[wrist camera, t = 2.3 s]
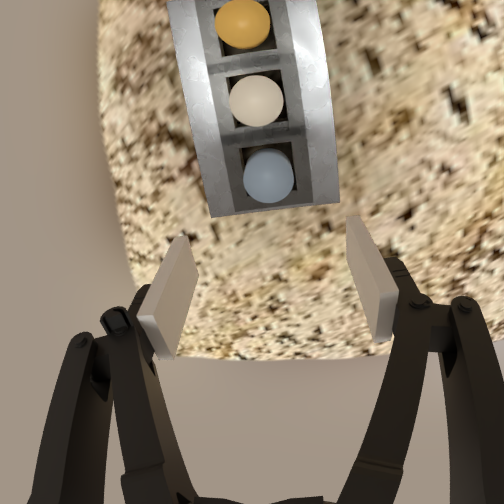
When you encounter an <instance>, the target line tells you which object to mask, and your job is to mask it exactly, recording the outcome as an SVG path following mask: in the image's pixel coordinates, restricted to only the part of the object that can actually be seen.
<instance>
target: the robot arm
mask: <svg viewBox="0 0 504 504" xmlns="http://www.w3.org/2000/svg"><path fill="white" fill-rule="evenodd" d="M346 255H347V262H348V265H349V268H350V271H351V273H352V276H353V279H354V282H355V285H356V288H357V291H358V294H359V297H360V300H361V303H362V306H363V309H364V312H365V315H366V318H367V322H368V325H369V328H370V331H371V335H372V338H373V341H374V343H379V342H385V341H391V337H392V332H393V334H394V341H393V345H392V349H391V353H390V357H389V361H388V365H387V368H386V372H385V376H384V379H383V383H382V386H381V389H380V393H379V396H378V399H377V402H376V405H375V408H374V412H373V414H372V417H371V420H370V423H369V426H368V429H367V432H366V435H365V438H364V440H363V443H362V445H361V448H360V451H359V453H358V456H357V458H356V460H355V462H354V464H353V467H352V469H351V471H350V474H349V476H348V479H347V481H346V483H345V485H344V487H343V490H342V492H341V494H340V496H339V498H338V501H337V503H332V502H327V501H323V496H318V497H317V496H316V497H305V498H291V499H287V500H284V501H279V502H276V503H272V504H393V502H394V500H395V497H396V494H397V491H398V488H399V485H400V482H401V479H402V475H403V464H404V461H405V457H406V454H407V450H408V447H409V443H410V439H411V436H412V432H413V428H414V423H415V419H416V415H417V411H418V406H419V401H420V397H421V392H422V386H423V381H424V375H425V369H426V363H427V356H428V352H438V356H439V362H440V369H441V375H442V382H443V389H444V397H445V405H446V415H447V426H448V439H449V458H450V504H504V381H503V377H502V373H501V370H500V366H499V363H498V359H497V356H496V353H495V350H494V347H493V343H492V340H491V337H490V334H489V331H488V328H487V325H486V323H485V320H484V317H483V314H482V312H481V309H480V306H479V305H478V303H477V302H476V301H475V300H474V299H472V298H470V297H467V296H458V297H456V298H454V299H453V300H452V302H451V305H441V304H434V303H433V301H432V300H431V299H430V297H428V296H427V295H425V294H422V293H420V291H419V289H418V288H417V286H416V284H415V282H414V280H413V279H412V277H411V276H410V273H409V272H408V270H407V268H406V266H405V265H404V263H403V262H402V261H401V260H399V259H398V258H397V257H390V258H382V256H381V254H380V252H379V250H378V248H377V246H376V244H375V243H374V241H373V239H372V237H371V235H370V233H369V232H368V230H367V228H366V226H365V224H364V223H363V221H362V219H361V217H360V216H359V215H356V216H346ZM198 277H199V274H198V270H197V267H196V264H195V260H194V257H193V253H192V250H191V246H190V243H189V240H188V236H180V237H175V238H174V240H173V242H172V244H171V246H170V247H169V249H168V251H167V253H166V255H165V257H164V259H163V261H162V263H161V265H160V267H159V269H158V271H157V273H156V276H155V278H154V280H153V282H152V284H145V285H143V286H142V287H141V288H140V289H139V290H138V291H137V293H136V295H135V297H134V299H133V301H132V303H131V304H132V305H130V307H129V309H128V311H127V310H126V308H124V307H119V306H117V307H113V308H111V309H109V310H107V311H106V312H105V313H103V315H102V316H101V318H100V322H101V324H102V326H103V328H104V330H105V331H106V333H107V335H106V336H103V337H99V338H95V339H94V337H93V336H92V334H91V333H89V332H82V333H79V334H77V335H75V336H74V337H73V338H72V339H71V341H70V343H69V345H68V348H67V351H66V354H65V357H64V360H63V363H62V366H61V370H60V373H59V376H58V379H57V382H56V386H55V390H54V393H53V397H52V400H51V403H50V407H49V411H48V415H47V419H46V423H45V427H44V431H43V436H42V440H41V445H40V449H39V454H38V459H37V464H36V469H35V475H34V481H33V487H32V494H31V496H30V498H29V500H28V503H27V504H104V485H105V471H106V459H107V448H108V438H109V429H110V421H111V413H112V406H113V400H114V407H115V414H116V421H117V427H118V434H119V439H120V445H121V450H122V456H123V460H124V466H125V474H123V475H122V476H121V486H122V491H123V495H124V499H125V503H126V504H242V503H239V502H235V501H231V500H227V499H221V498H206V497H199V496H198V495H197V493H196V491H195V490H194V488H193V486H192V483H191V481H190V478H189V475H188V473H187V470H186V467H185V464H184V461H183V458H182V455H181V452H180V449H179V446H178V443H177V440H176V437H175V434H174V431H173V428H172V424H171V421H170V418H169V414H168V411H167V408H166V404H165V400H164V397H163V393H162V389H161V386H160V382H159V378H158V374H157V371H156V366H155V364H154V362H153V360H152V357H153V354H154V352H155V354H156V355H157V357H158V359H159V360H174V358H175V355H176V351H177V348H178V344H179V341H180V337H181V334H182V330H183V327H184V323H185V320H186V317H187V313H188V310H189V307H190V303H191V300H192V297H193V293H194V290H195V287H196V284H197V280H198Z"/></svg>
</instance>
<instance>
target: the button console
mask: <svg viewBox="0 0 504 504" xmlns="http://www.w3.org/2000/svg"><path fill="white" fill-rule="evenodd" d="M230 1H232V0H172V1H168V2H166V3H167V8H168V14H169V20H170V25H171V30H172V36H173V41H174V46H175V52H176V57H177V62H178V67H179V72H180V77H181V82H182V87H183V92H184V97H185V102H186V107H187V112H188V116H189V121H190V126H191V130H192V135H193V140H194V144H195V149H196V153H197V158H198V163H199V167H200V171H201V176H202V180H203V185H204V189H205V193H206V198H207V202H208V206H209V211H210V215H211V218H215V217H222V216H229V215H237V214H245V213H252V212H260V211H269V210H277V209H285V208H294V207H303V206H312V205H321V204H331V203H340V195H339V178H338V163H337V150H336V139H335V128H334V118H333V109H332V100H331V92H330V84H329V76H328V69H327V62H326V55H325V49H324V42H323V36H322V30H321V25H320V19H319V14H318V8H317V3H316V0H254V1H256V2H258V3H260V4H261V5H262V6H267V5H268V6H269V11H270V16H271V22H272V27H273V33H274V38H275V44H276V49H270V50H263V51H255V52H249V53H242V54H236V55H231V56H225V55H224V49H223V44H222V39H221V38H220V37H219V35H218V34H217V32H216V29H215V17H216V14H217V12H218V11H219V9H220V8H221V7H222V6H223V5H225V4H226V3H228V2H230ZM273 70H280V74H281V80H282V87H283V93H284V100H285V107H286V113H287V118H280V119H275V120H274V121H273V122H271V123H269V124H267V125H264V126H259V127H253V126H248V125H245V124H237V121H236V118H235V116H234V115H233V113H232V112H231V109H230V106H229V96H230V93H231V88H230V82H229V77H232V76H238V75H244V74H251V73H258V72H265V71H273ZM282 142H290V143H291V150H292V158H293V166H294V174H295V183H294V184H293V187H292V190H291V191H290V193H289V194H288V195H287V196H286V197H285V198H284V199H282V200H280V201H278V202H274V203H263V202H260V201H257V200H255V199H254V198H252V197H251V196H250V195H249V194H248V192H247V191H246V189H245V187H244V182H243V176H244V171H245V165H244V160H243V154H242V149H241V148H244V147H251V146H258V145H266V144H273V143H282Z"/></svg>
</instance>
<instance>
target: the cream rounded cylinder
mask: <svg viewBox="0 0 504 504" xmlns="http://www.w3.org/2000/svg"><path fill="white" fill-rule="evenodd" d="M229 106H230V109H231V112H232V113H233V115H234V116H235V118H236V119H237V120H239V121H240V122H242V123H243V124H245V125H248V126H253V127H259V126H264V125H267V124H269V123H271V122H273V121H274V120H275V119H276V118H277V117H278V116H279V114H280V112H281V110H282V107H283V95H282V92H281V90H280V88H279V87H278V85H277V84H276V83H275V82H274V81H272V80H271V79H269V78H267V77H264V76H258V75H254V76H248V77H245V78H243V79H241V80H240V81H238V82H237V83H236V84H235V86H234V87H233V88H232V90H231V93H230V96H229Z"/></svg>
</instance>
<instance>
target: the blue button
mask: <svg viewBox="0 0 504 504" xmlns="http://www.w3.org/2000/svg"><path fill="white" fill-rule="evenodd" d="M243 182H244V187H245V189H246V191H247V192H248V194H249V195H250V196H251V197H252V198H254V199H255V200H257V201H260V202H263V203H274V202H278V201H280V200H282V199H284V198H285V197H286V196H287V195H288V194H289V193H290V191H291V190H292V187H293V184H294V175H293V171H292V167H291V163H290V161H289V159H288V157H287V156H286V155H285V154H284V153H283V152H281V151H279V150H277V149H274V148H263V149H260V150H258V151H256V152H254V153H253V154H252V155H251V156H250V157H249V159H248V161H247V163H246V167H245V171H244V176H243Z"/></svg>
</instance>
